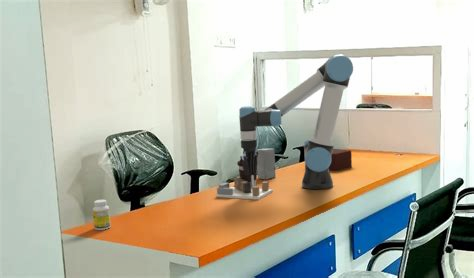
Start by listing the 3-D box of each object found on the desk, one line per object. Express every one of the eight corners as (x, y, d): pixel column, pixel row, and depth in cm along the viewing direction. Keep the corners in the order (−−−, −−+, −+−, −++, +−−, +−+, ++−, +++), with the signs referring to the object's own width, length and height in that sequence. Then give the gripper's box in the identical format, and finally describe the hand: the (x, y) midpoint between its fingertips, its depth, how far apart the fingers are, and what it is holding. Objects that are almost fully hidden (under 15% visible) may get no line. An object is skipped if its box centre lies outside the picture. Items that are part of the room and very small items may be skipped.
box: (353, 166, 321) (353, 149, 319) (335, 171, 310) (335, 153, 309) (325, 163, 336) (324, 147, 335) (307, 167, 325) (306, 150, 324)
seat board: (272, 191, 266) (272, 181, 266) (259, 199, 252) (258, 188, 252) (231, 189, 276) (230, 179, 275) (216, 196, 262) (215, 185, 261)
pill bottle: (95, 226, 221) (93, 199, 219) (111, 225, 221) (109, 198, 220) (93, 231, 214) (90, 203, 213) (109, 230, 215) (107, 202, 214)
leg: (234, 187, 273) (234, 177, 272) (240, 187, 274) (239, 176, 273) (245, 193, 260) (244, 182, 260) (251, 192, 261) (250, 181, 261)
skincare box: (265, 179, 295) (264, 150, 293) (256, 178, 301) (255, 149, 299) (276, 177, 301) (275, 148, 299) (267, 175, 306) (266, 147, 304)
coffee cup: (255, 190, 271) (254, 160, 269) (236, 190, 274) (234, 160, 271) (260, 185, 281) (259, 156, 278) (242, 184, 283) (240, 156, 281)
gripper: (248, 137, 268) (251, 184, 272) (234, 141, 258) (237, 190, 261) (262, 137, 264) (264, 186, 268) (248, 141, 254) (250, 192, 257)
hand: (251, 188), depth 264 cm, fingers closed
